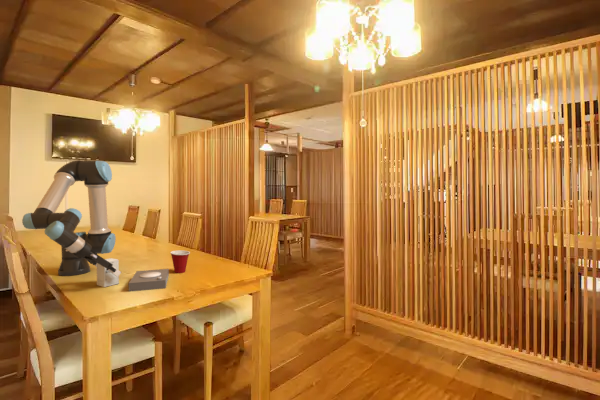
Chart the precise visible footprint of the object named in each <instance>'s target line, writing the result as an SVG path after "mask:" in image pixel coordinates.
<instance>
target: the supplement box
mask: <svg viewBox="0 0 600 400" xmlns="http://www.w3.org/2000/svg"><path fill="white" fill-rule="evenodd" d="M104 259H105V260H106V261H108V262H110V263H111V264H113V266H114V267H115V268H116V269H118V270H119V269H120V268H119V267H120V266H119V264H120V261H119V259H117V258H112V257H110V258H104ZM106 269H107V268H105V267H103V266H102V265H100V264H98V263H97V267H96V285H97V286H99V287H101V288H106V287H110V286H115V285H119V284H120V275H119V276H118V277H117V276H115V275H114V274H113V273H111V272H110V271H107V270H106ZM119 271H120V270H119Z"/></svg>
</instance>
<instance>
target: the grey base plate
mask: <svg viewBox="0 0 600 400" xmlns="http://www.w3.org/2000/svg"><path fill="white" fill-rule="evenodd" d="M169 270H170V269H169V268H163V269H148V270H147V269H146V270H145V269H144V270H137V271H136V272H135V273H134V274H133V276H132V278H131V279H130V280H129V282H128V292H139V291H150V290H151V291H152V290H160V289H166V288H167V286H168V285H167V284H168V281H169V272H170V271H169Z"/></svg>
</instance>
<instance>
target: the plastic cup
mask: <svg viewBox="0 0 600 400" xmlns="http://www.w3.org/2000/svg"><path fill="white" fill-rule="evenodd" d="M169 254H170V255H171V259H172V265H173V269H174V273H175V274H183V273H185V272H186V270H187V263H188V261H189V260H188V259H189V255H190V254H191V252H190V251H188V250H172V251H170V253H169Z"/></svg>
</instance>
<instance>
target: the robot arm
mask: <svg viewBox="0 0 600 400" xmlns="http://www.w3.org/2000/svg"><path fill="white" fill-rule="evenodd" d="M112 179H113V173H112V169H111V166H110V165H109V163H108V162H107V161H104V160H80V159H79V160H77V159H76V160H71V161H69V162H67V163H65V164H64V165H62V166H61V167H60V168H59V169H58V170H57V171H56V172H55V173H54V175H53V181H52V182H51V184H50V186H49V188H48V189H47V191H46V193H45V194H44V195H43V197H42V199H41V200H40V202H39V203H38V204H37V207H36V208H35V210H34V212H28V213H25V214H24V215H23V216H22V219H21V220H22V225H23V227H24V228H25V229H28V230H44V235H46V236H47V237H49V239H50V240H52V241H53V242H55V243H57V245H60V246H61V261H60V265H59V268H58V270H57V275H58V274H59V275H58V276H61V275H62V277H66V276H67V277H69V276H79V275H82V274H87V273H89V272H91V266H90V264H91V265H93V266H95V268H97V263H98V264H100V265H102V266H103V267H105V268H107V269H106V270H107V271H110V272H111V273H113V274H114V275H115V276H117V277H118V276H119V277H120V275H121V274H122V271H120V270H118V269H116V268H115V267H114V266H113V264H111V263H110V262H108V261H106V260H105V259H106V258H103V257H102V256H100V254H101V255H104V254H110V253H111V252H112V251H113V250H114V248H115V245H116V241H117V240H116V234H115V233H113V232H112V230H111V228H109V223H108V220H109V219H108V208H107V207H108V206H107V191H106V190H107V189H106V187H107V186H108V185H109V182H111V180H112ZM77 182H83V183H84V186H85V187H86V188H87V195H88V209H89V212H88V213H89V224H90V229H89V230H88V231H87V232H86V231H78V232H77V231H76V232H75V230H76V229H77V227H78V225H79V224H80V222H81V220H82V217H83V214H82V212H81V211H80V210H79V209H77V208H73V207H70V208H66V209H65V211H64V212H57V210H58V208H59V207H60V205H61V203H62V201H63V199H64V198H65V196H66V194H67V192H68V191H69V189H70V187H71V186H74V184H75V183H77Z"/></svg>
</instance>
